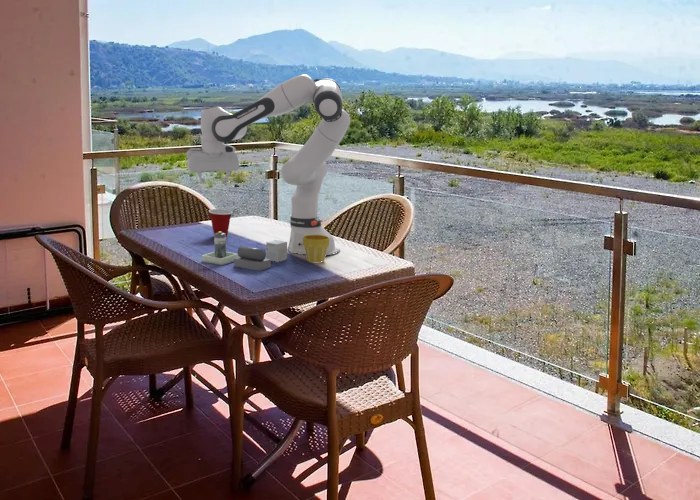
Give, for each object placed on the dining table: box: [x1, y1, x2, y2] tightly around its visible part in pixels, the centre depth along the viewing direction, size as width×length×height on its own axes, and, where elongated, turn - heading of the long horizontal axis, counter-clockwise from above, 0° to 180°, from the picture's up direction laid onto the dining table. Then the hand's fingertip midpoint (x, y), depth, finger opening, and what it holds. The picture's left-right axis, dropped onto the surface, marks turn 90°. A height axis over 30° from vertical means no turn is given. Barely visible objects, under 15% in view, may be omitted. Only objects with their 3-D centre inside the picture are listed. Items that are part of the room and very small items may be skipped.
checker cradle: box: [233, 245, 272, 272], centre depth 256 cm, size 12×7×7 cm, turn 60°
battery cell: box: [213, 231, 227, 258], centre depth 263 cm, size 4×4×11 cm
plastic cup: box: [208, 208, 234, 238], centre depth 307 cm, size 11×11×12 cm
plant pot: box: [303, 235, 329, 263], centre depth 266 cm, size 10×10×10 cm
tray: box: [201, 251, 239, 266], centre depth 264 cm, size 10×10×2 cm
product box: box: [265, 239, 288, 263], centre depth 267 cm, size 6×6×7 cm
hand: (213, 182), depth 273 cm, fingers open, 8 cm apart
